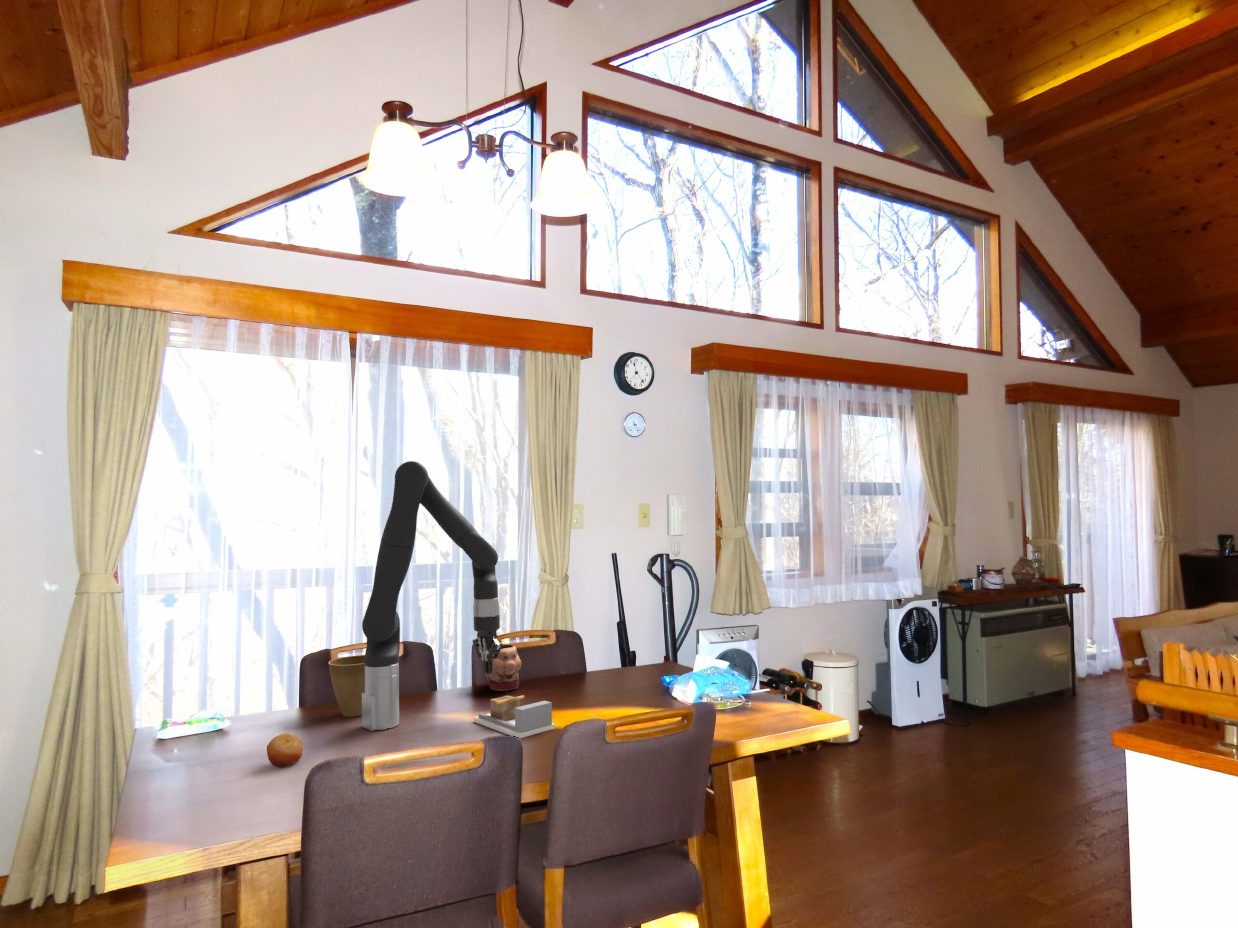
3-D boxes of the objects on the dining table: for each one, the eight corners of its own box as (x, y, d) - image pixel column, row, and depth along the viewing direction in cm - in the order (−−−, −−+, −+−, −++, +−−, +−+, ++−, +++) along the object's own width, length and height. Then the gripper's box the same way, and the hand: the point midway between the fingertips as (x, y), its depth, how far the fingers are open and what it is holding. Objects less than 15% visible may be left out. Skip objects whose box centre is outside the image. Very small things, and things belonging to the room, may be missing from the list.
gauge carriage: (497, 722, 209) (497, 701, 210) (486, 718, 214) (485, 698, 214) (524, 715, 215) (524, 695, 216) (512, 711, 220) (512, 692, 220)
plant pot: (389, 706, 234) (388, 654, 235) (368, 720, 219) (368, 664, 220) (342, 706, 235) (342, 654, 236) (319, 720, 221) (319, 664, 221)
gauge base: (518, 738, 200) (518, 710, 200) (473, 721, 216) (473, 695, 216) (554, 728, 208) (554, 701, 208) (509, 712, 224) (508, 688, 224)
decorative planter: (472, 684, 260) (471, 643, 260) (504, 679, 267) (503, 639, 268) (498, 696, 244) (498, 652, 244) (532, 690, 251) (531, 647, 251)
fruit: (288, 749, 190) (296, 724, 188) (302, 771, 186) (310, 746, 184) (256, 758, 184) (264, 732, 182) (269, 781, 180) (278, 755, 177)
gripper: (463, 613, 225) (465, 672, 224) (487, 617, 215) (489, 679, 214) (485, 610, 230) (486, 667, 229) (509, 613, 220) (511, 674, 219)
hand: (488, 673), depth 222 cm, fingers closed
